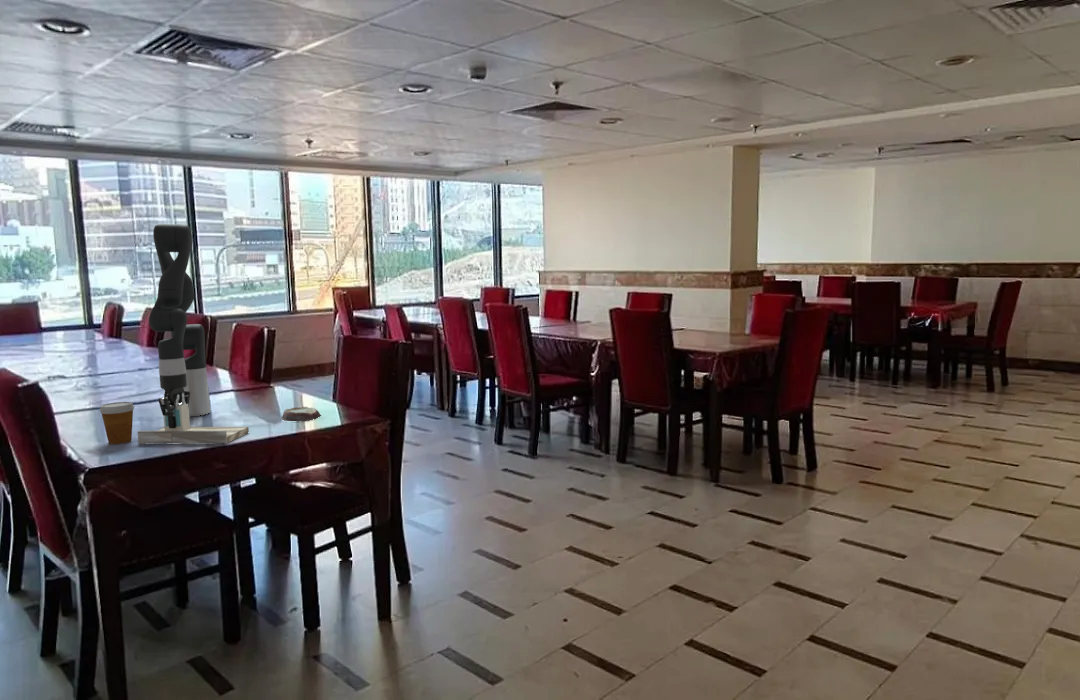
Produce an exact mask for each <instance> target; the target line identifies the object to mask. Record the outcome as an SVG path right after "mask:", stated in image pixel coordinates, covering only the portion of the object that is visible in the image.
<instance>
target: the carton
mask: <svg viewBox="0 0 1080 700" xmlns="http://www.w3.org/2000/svg"><path fill="white" fill-rule="evenodd" d="M170 406H174V405H170ZM165 411H166V409H165ZM171 411H172V409H171ZM190 422H191V421H190V416H189V408H188V404H178V406H177V409H176V426H177V427H176V428H169V425H168V417H167V416H163V426H164V427H163V428H165V431H186V430H188V429H190V427H191V423H190Z"/></svg>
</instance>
